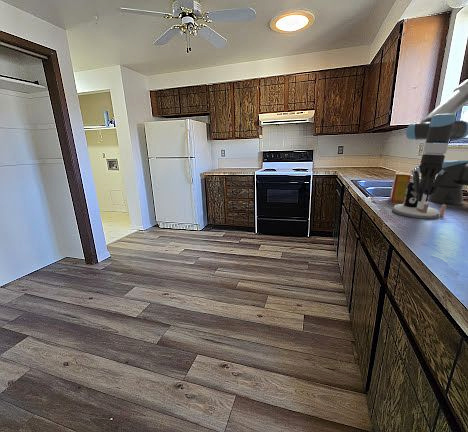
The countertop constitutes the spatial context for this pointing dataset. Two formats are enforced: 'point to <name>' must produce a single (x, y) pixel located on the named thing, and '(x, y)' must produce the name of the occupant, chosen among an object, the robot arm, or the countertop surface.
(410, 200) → the beverage can
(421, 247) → the countertop surface
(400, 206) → the disc
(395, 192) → the baking soda box
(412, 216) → the base
